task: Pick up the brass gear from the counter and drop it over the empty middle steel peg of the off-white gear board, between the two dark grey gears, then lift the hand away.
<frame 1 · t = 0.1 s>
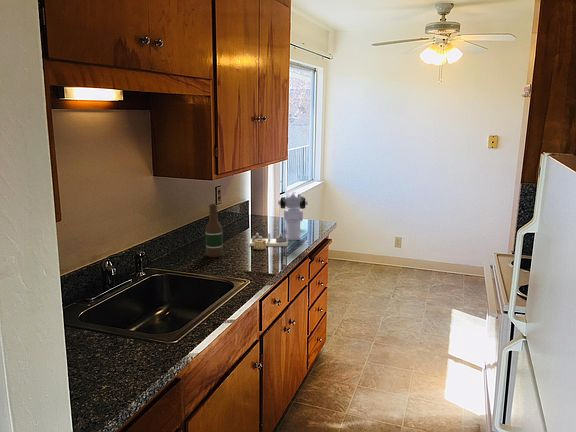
hand: (292, 204, 232), 22 cm above the worktop, tool horizontal, fingers open, 7 cm apart
gear board: (269, 243, 244), on the worktop
beer bottle: (214, 255, 224), on the worktop
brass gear: (260, 248, 236), on the worktop
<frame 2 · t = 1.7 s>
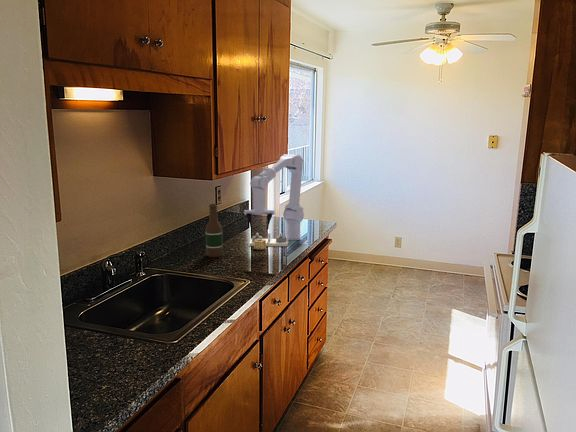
hand: (259, 229, 234), 10 cm above the worktop, tool pointing down, fingers open, 7 cm apart
nothing on the worktop moved.
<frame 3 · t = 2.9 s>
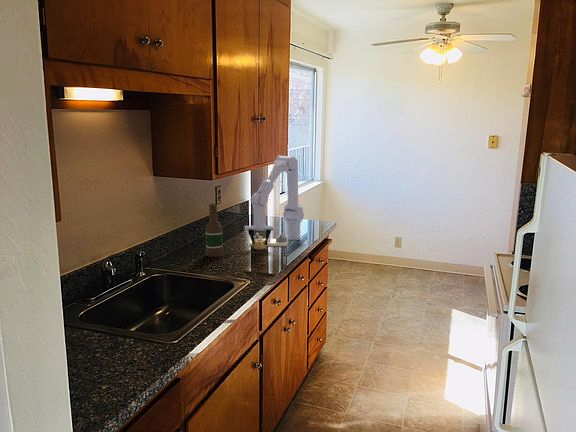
hand: (259, 244, 236), 2 cm above the worktop, tool pointing down, fingers closed on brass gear, 6 cm apart
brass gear: (260, 248, 236), on the worktop, touching gripper
everything else where it was.
when the fingers open (4 cm above the worktop, at t = 7.2 s): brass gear drops 1 cm, resting on gear board.
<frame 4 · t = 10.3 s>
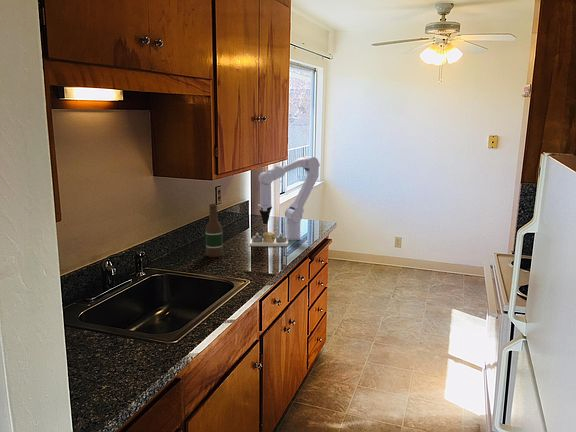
hand: (265, 222, 247), 10 cm above the worktop, tool pointing down, fingers open, 7 cm apart
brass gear: (269, 240, 244), point 1 cm above the worktop, touching gear board
everything else where it was.
at the end: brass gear 0.1 cm off-centre on the gear board, point 1.5 cm above the gear board's base; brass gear tilted 0°; the gripper is holding nothing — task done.
